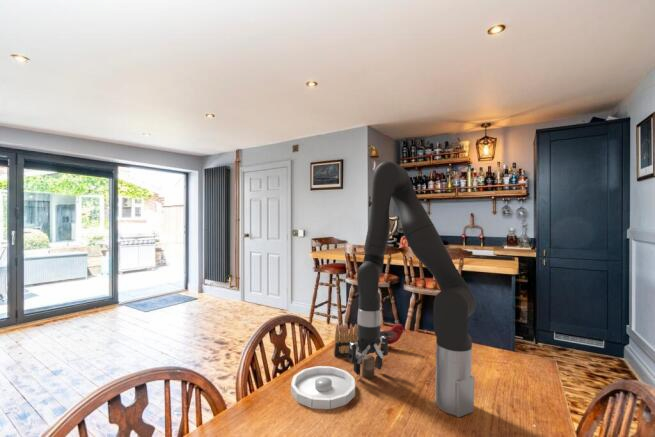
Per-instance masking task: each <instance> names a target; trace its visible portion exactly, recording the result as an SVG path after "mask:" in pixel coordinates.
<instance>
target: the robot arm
mask: <svg viewBox="0 0 655 437" xmlns="http://www.w3.org/2000/svg"><path fill="white" fill-rule="evenodd" d="M412 183H413V182H412V180H411V178H410V176H409V174H408V172H407V170H406V168H404V167H403V166H401V165H399V164H397V163H395V162H393V161H389V160H388V161H383V162H381V163H379V164H378V165H377V166H376V168H375V169H374V171H373V176H372V191H371V193H372V194H371V206H370V216H369V223H368V228H367V232H366V237H365V241H364V247H363V248H364V256H363V261H362V264H360V266H359V267H358V269H357V275H356V279H357V280H356V281H357V282H356V283H357V289H358V291H357V292H358V310H357V335H358V341H357V342H355V343H352V342H349V355H348V356H347V357H348V359H347V360H348V361H349V362H351V363H352V364H353V372H354V373H355V374H356V375H357V376H360V375H361V362H362V358H364V357H365V355H370V354H374V353H375V355H376V356H375V369H376V370H382V367H383V358H384V357H385V356H388V354H389V348H388V346H389V344H388V339H387V338H386V337H384V336H381V337H380V330H381V329H382V328H381V325H382V324H381V316H382V315H381V295H380V294H381V293H380V292H379V279H380V278H381V275H382V273H383V268H384V262H385V261H384V260H385V254H386V251H387V247H388V243H389V237H390V230H391V229H390V228H391V224H390V222H391V221H390V207H391V200H393V202H394V204H395V205H396V208H397V210H398V213H399V218H400V224H401V230H402V234H403V236H404V238H405V240H406V242H407V245H408V246H409V248H410V250H411V251H412V253H413V254H414V256H415V257H416V258H417V259H418V260H419V262H420V263H421V264H422V265H423V266H424V267H426V269H427V270H428V271H429V272H430V273H431V275H432V276H433V278H434V280H435V282H436V284H437V286H438V288H439V290H440V291H439V292H438V293H437V294H436V296H435V298H434V301H433V331H434V335H435V337H436V344H435V346H436V348H435V350H436V351H435V390H434V392H435V395H434V396H435V397H434V399H435V400H434V401H435V405H436V406H437V408H438V409H439V410H440V411H443V412H445V413H446V414H449V415H451V416H452V415H453V416H455V417H457V418H461V417H463V416H465V415H468V414H470V413H471V414H472V413H474V411H475V410H474V409H475V408H474V407H475V406H474V405H475V377H474V376H473V375H472V354H473V352H472V350H473V349H472V348H473V339H472V336H471V335H470V334H469V317H470V316H472V315H473V314H474V313H475V310H476V307H477V300H476V297H475V295H474V293H473V292H472V290H471V289H470V287H469V285H468V284H467V283H466V280H464V278H463V277H462V275H461V274H460V272H459V271H458V269H457V267H456V265H455V264H454V262H453V259H452V258H451V255H450V254H449V252H448V249H447V248H446V246H445V244H444V242H443V240H442V239H441V236H440V234H439V231H438V230H437V229H436V226H435V224H434V223H433V221H432V220H431V218H430V216H429V214H428V212H427V211H426V209H425V207H424V206H423V204H422V203H421V201H420V199H419V197H418V195H417V193H416V191H415V188H414V186H413V184H412ZM379 345H380V347H379ZM357 347H358V349H357ZM356 350H357V351H356ZM361 351H362V353H360V352H361Z"/></svg>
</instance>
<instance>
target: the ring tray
mask: <svg viewBox="0 0 655 437" xmlns="http://www.w3.org/2000/svg"><path fill="white" fill-rule="evenodd" d="M290 394H291V396H292V397H293V398H294V400H295V401H296V402H297V403H298V404H300V405H303V406H305V407H307V408H309V409H312V410H313V409H319V410H333V409H336V408H339V407H343V406H346V405H347V404H349V402H351V400H353V398H354V397H356V380H355V377H353V375H351V374H350V373H349V372H348V371H347V370H345V369H342V368H337V367H336V366H327V365H325V366H324V365H318V366H312V367H309V368H308V367H307V368H304V369H301V370H300V371H299V372H298V373H296V374H294V375H293V376H292V380H291V382H290Z"/></svg>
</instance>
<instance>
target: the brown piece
mask: <svg viewBox="0 0 655 437" xmlns="http://www.w3.org/2000/svg"><path fill="white" fill-rule="evenodd" d="M361 362H362V363H361V377H362V378H364V379H366V380H373V379H374V378H375V365H376V357H374V355H370V354H367V355H365V357H364V358H362V360H361Z"/></svg>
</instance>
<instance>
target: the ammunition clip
mask: <svg viewBox="0 0 655 437" xmlns="http://www.w3.org/2000/svg"><path fill="white" fill-rule="evenodd" d="M357 327H358V323H355V324H354V327H353V323H350V325H349V326H348V323H346V324H345V329H344V325H343V323H341V325H340V327H339V324H338V323H337V324H336V325H335V334H334V349H333V350H334V351H333V352H334V354H333V355H334V357H336V358H337V357H339V358H340V357H348V355H349V342H352V343H355V342H357V341H358V335H357ZM339 328H340V329H339ZM353 328H354V329H353ZM357 349H358V347H357ZM356 351H357V350H356ZM360 353H362V351H361V352H360Z"/></svg>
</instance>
